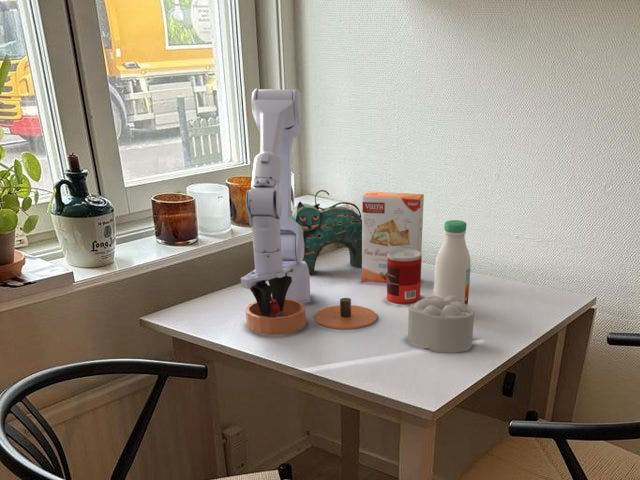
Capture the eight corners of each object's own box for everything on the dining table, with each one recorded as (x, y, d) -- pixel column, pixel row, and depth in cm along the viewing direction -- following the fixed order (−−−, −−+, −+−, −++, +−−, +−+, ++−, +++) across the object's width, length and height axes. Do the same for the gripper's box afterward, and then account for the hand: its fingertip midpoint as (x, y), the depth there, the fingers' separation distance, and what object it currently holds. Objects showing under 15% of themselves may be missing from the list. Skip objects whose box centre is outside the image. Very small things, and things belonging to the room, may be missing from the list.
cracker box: (361, 283, 182) (361, 195, 171) (366, 276, 187) (366, 190, 176) (417, 287, 180) (420, 198, 168) (420, 280, 184) (424, 192, 173)
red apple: (278, 312, 160) (276, 292, 157) (282, 318, 157) (281, 298, 155) (262, 315, 159) (260, 294, 156) (266, 320, 156) (265, 300, 154)
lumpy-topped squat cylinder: (429, 327, 157) (431, 287, 152) (482, 341, 150) (486, 300, 145) (401, 342, 150) (402, 301, 146) (455, 357, 143) (458, 315, 139)
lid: (363, 306, 168) (363, 286, 166) (386, 326, 158) (386, 305, 155) (306, 314, 164) (305, 293, 162) (326, 335, 153) (326, 313, 151)
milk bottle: (457, 322, 159) (464, 228, 149) (426, 316, 163) (430, 223, 152) (472, 312, 165) (480, 220, 154) (441, 306, 168) (447, 216, 157)
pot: (296, 312, 165) (295, 295, 163) (313, 331, 155) (312, 313, 153) (241, 320, 161) (239, 302, 159) (255, 340, 151) (254, 321, 149)
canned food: (424, 297, 173) (426, 250, 167) (412, 308, 167) (413, 260, 161) (394, 293, 176) (395, 247, 170) (381, 303, 170) (382, 256, 164)
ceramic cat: (299, 277, 187) (295, 194, 176) (290, 270, 192) (286, 189, 181) (369, 267, 194) (370, 187, 183) (359, 261, 199) (359, 182, 188)
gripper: (255, 260, 143) (261, 326, 151) (305, 244, 153) (308, 307, 160) (231, 254, 147) (237, 319, 154) (281, 238, 156) (285, 300, 164)
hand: (272, 312), depth 157 cm, fingers closed on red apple, 3 cm apart
